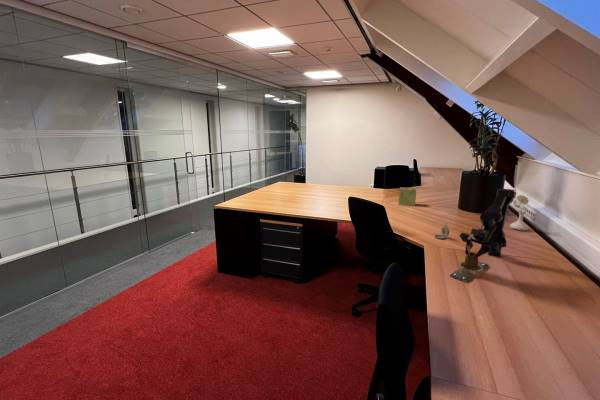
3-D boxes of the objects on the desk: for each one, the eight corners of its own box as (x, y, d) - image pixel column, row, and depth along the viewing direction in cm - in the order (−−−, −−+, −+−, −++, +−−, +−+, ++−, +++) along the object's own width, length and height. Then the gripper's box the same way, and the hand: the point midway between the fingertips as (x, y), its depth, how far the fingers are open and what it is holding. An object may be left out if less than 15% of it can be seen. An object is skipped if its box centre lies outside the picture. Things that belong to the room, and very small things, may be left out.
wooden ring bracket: (470, 260, 167) (470, 255, 166) (491, 267, 159) (492, 262, 158) (446, 275, 151) (447, 269, 150) (469, 283, 142) (470, 278, 142)
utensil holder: (480, 268, 153) (483, 246, 150) (470, 270, 151) (473, 248, 148) (470, 263, 158) (473, 242, 155) (461, 265, 156) (463, 243, 153)
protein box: (415, 206, 285) (416, 190, 281) (398, 204, 290) (399, 189, 286) (415, 203, 294) (416, 188, 291) (398, 202, 300) (399, 187, 296)
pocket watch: (433, 237, 202) (434, 223, 200) (437, 234, 208) (439, 221, 206) (445, 240, 197) (447, 226, 194) (450, 237, 203) (451, 223, 200)
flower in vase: (532, 231, 212) (539, 197, 206) (516, 231, 212) (522, 197, 207) (519, 225, 225) (525, 193, 219) (504, 225, 225) (509, 193, 219)
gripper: (463, 218, 159) (448, 241, 156) (500, 227, 143) (483, 254, 140) (470, 229, 164) (455, 252, 162) (507, 240, 148) (491, 265, 146)
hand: (470, 255), depth 152 cm, fingers closed on utensil holder, 5 cm apart
